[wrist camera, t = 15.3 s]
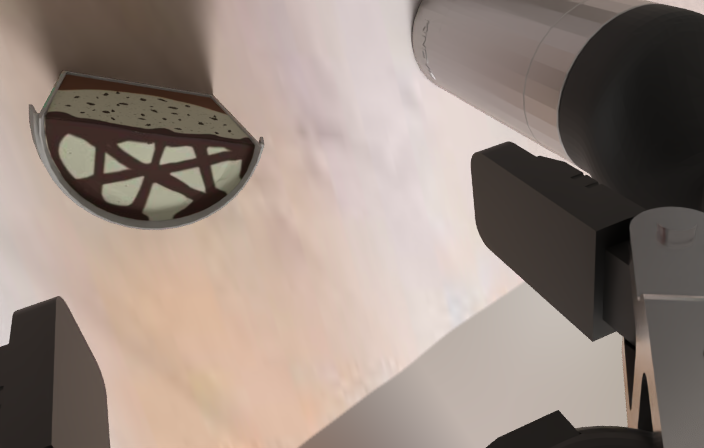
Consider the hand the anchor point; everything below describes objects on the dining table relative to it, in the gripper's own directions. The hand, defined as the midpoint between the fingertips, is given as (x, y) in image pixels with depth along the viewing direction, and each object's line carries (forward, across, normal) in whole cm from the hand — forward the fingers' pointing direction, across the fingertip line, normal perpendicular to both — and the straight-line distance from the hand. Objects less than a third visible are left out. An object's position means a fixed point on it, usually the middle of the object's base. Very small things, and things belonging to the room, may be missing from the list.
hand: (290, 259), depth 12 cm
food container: (+33, +3, +8) cm, 34 cm away
